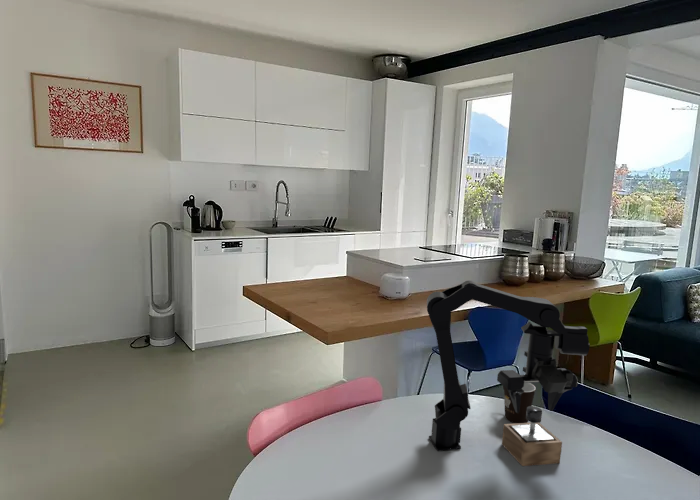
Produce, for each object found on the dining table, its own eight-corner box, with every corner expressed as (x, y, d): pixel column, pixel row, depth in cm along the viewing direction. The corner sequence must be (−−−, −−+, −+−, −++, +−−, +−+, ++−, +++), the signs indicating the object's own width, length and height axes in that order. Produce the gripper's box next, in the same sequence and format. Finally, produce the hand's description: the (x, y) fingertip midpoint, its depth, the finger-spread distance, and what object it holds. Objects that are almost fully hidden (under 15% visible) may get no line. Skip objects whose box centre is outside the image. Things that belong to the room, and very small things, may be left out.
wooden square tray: (522, 466, 119) (524, 444, 118) (501, 444, 129) (503, 424, 128) (559, 463, 121) (562, 442, 120) (536, 441, 131) (538, 422, 130)
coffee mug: (534, 427, 138) (538, 393, 137) (502, 423, 140) (505, 389, 138) (528, 409, 150) (531, 377, 148) (498, 405, 151) (501, 374, 150)
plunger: (526, 443, 120) (529, 417, 119) (510, 427, 127) (513, 403, 126) (553, 441, 121) (556, 415, 120) (536, 426, 129) (539, 402, 128)
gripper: (523, 364, 111) (516, 429, 114) (596, 362, 115) (588, 425, 117) (499, 347, 122) (493, 407, 124) (566, 346, 126) (559, 404, 128)
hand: (533, 411), depth 123 cm, fingers open, 9 cm apart
